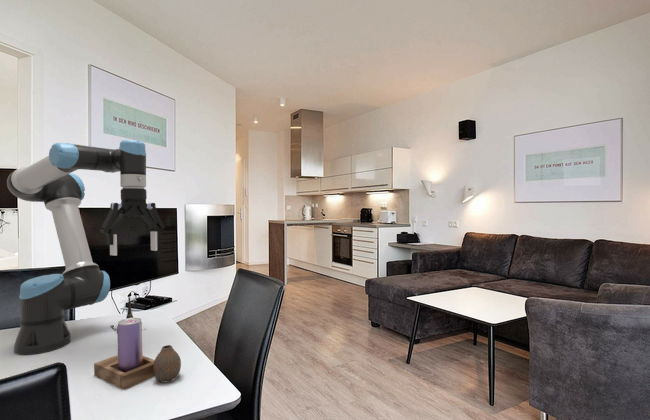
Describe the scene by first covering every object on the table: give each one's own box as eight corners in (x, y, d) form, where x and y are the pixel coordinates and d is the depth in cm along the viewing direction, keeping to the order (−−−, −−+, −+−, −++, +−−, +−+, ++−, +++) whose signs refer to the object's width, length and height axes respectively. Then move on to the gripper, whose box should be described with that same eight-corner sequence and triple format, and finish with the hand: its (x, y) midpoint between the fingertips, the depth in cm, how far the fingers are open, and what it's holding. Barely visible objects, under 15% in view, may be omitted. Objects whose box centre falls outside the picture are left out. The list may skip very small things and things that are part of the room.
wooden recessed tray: (94, 375, 101) (94, 363, 101) (129, 362, 109) (129, 350, 109) (123, 389, 93) (123, 376, 93) (159, 374, 101) (159, 361, 101)
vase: (173, 370, 103) (172, 340, 103) (186, 377, 99) (185, 345, 99) (148, 379, 98) (148, 347, 98) (161, 387, 94) (160, 353, 94)
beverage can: (132, 381, 96) (131, 324, 96) (112, 379, 98) (111, 323, 97) (147, 370, 102) (146, 317, 102) (128, 369, 103) (128, 316, 103)
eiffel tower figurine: (109, 327, 144) (108, 293, 143) (137, 321, 150) (136, 289, 150) (118, 337, 132) (117, 300, 132) (148, 330, 139) (147, 295, 139)
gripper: (99, 186, 107) (100, 258, 107) (174, 189, 128) (175, 249, 128) (86, 187, 111) (87, 256, 111) (161, 189, 132) (162, 248, 132)
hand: (134, 252), depth 119 cm, fingers open, 13 cm apart
